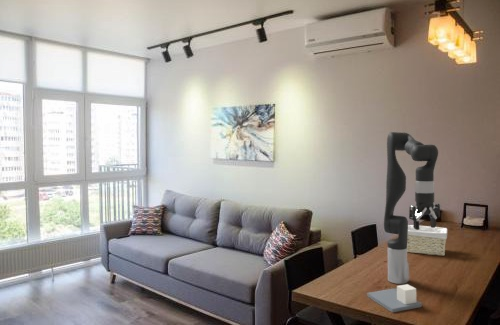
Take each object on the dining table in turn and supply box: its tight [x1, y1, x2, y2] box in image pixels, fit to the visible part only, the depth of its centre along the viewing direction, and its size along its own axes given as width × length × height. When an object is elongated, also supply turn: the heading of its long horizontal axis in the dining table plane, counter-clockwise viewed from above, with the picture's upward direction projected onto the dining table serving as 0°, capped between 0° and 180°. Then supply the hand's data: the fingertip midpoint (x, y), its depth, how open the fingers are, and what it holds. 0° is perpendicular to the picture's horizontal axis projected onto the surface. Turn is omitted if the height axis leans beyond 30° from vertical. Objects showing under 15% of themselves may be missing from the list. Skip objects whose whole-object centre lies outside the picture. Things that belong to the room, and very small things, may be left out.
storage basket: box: [407, 224, 448, 256], centre depth 241 cm, size 24×16×15 cm
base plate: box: [366, 287, 423, 313], centre depth 171 cm, size 15×18×2 cm
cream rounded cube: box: [396, 283, 417, 304], centre depth 168 cm, size 6×6×6 cm
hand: (424, 228), depth 166 cm, fingers open, 8 cm apart
